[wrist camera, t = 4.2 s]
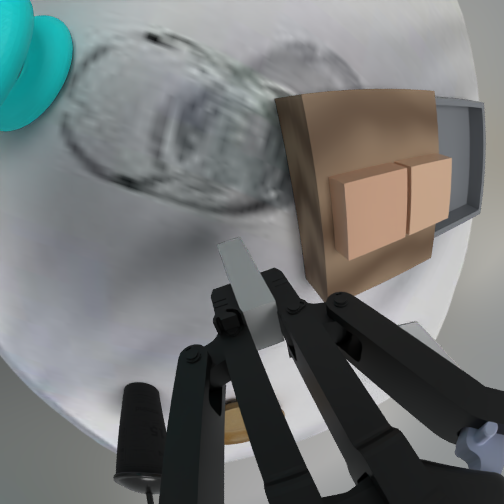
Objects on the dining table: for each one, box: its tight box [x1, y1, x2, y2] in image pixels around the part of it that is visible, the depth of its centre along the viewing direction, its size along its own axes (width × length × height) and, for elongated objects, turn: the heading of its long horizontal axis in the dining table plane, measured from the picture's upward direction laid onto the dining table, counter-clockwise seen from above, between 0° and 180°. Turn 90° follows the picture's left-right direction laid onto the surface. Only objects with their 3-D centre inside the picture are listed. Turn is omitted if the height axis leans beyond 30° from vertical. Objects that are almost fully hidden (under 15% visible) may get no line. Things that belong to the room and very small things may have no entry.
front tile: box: [329, 162, 407, 261], centre depth 19 cm, size 6×6×2 cm
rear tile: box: [394, 153, 452, 235], centre depth 20 cm, size 6×6×2 cm
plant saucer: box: [224, 402, 285, 445], centre depth 38 cm, size 15×15×3 cm
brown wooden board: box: [275, 89, 439, 302], centre depth 22 cm, size 18×14×5 cm
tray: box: [434, 97, 486, 238], centre depth 25 cm, size 17×15×3 cm
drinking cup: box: [113, 383, 167, 504], centre depth 22 cm, size 8×8×20 cm
